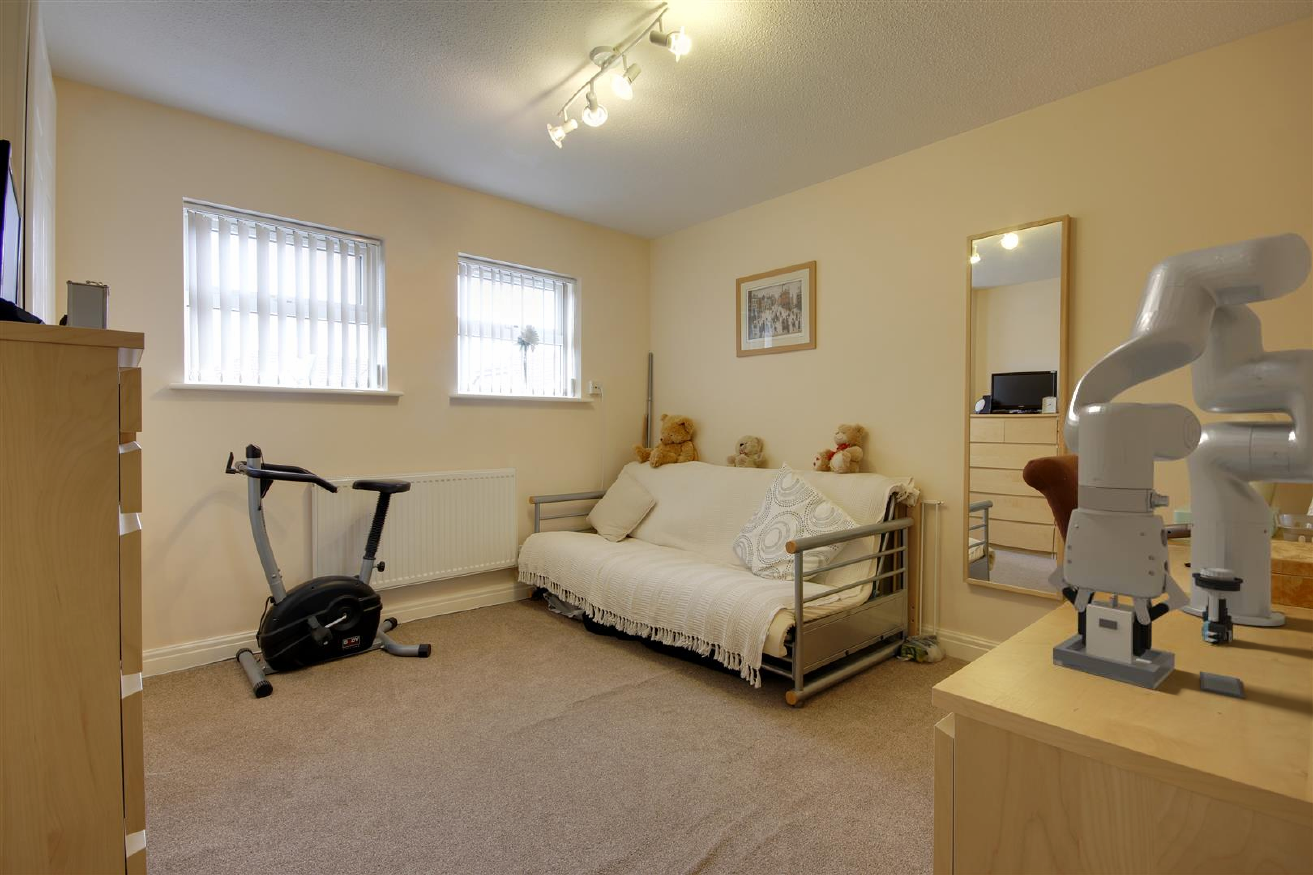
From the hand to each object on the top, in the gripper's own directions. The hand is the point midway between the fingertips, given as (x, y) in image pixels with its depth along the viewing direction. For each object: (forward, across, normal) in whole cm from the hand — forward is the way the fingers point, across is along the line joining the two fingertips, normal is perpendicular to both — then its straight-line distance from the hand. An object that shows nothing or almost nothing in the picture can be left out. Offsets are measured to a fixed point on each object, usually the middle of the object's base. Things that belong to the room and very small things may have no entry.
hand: (1113, 646), depth 75 cm
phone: (+3, -10, -3) cm, 10 cm away
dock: (+2, 0, 0) cm, 2 cm away
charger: (+1, 0, 0) cm, 1 cm away
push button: (+3, -6, -24) cm, 25 cm away
